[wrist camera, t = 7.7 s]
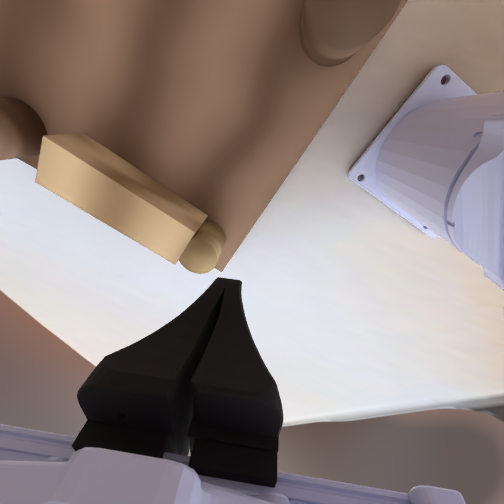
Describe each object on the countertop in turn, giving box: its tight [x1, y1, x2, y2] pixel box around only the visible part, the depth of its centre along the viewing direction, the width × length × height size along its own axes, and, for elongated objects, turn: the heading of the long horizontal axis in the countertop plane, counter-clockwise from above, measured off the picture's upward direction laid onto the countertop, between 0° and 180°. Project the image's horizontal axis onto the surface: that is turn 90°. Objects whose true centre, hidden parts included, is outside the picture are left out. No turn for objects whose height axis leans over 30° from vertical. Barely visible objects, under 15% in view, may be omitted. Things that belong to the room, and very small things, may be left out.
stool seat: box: [0, 0, 408, 272], centre depth 14 cm, size 20×20×6 cm
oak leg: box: [35, 133, 226, 274], centre depth 17 cm, size 12×3×3 cm, turn 55°
